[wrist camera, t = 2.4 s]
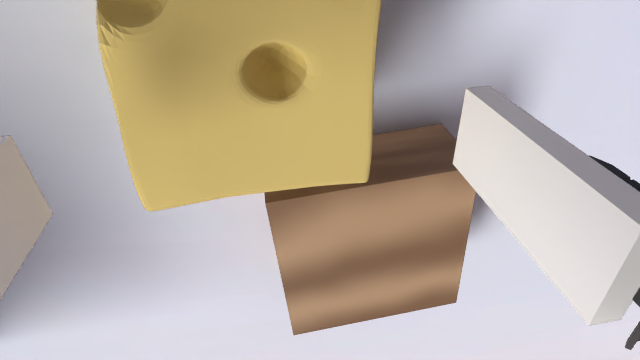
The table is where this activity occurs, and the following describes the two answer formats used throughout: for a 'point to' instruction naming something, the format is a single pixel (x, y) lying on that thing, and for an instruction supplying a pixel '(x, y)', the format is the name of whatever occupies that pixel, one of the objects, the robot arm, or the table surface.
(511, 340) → the table surface
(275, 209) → the walnut block
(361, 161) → the cheese
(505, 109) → the robot arm
